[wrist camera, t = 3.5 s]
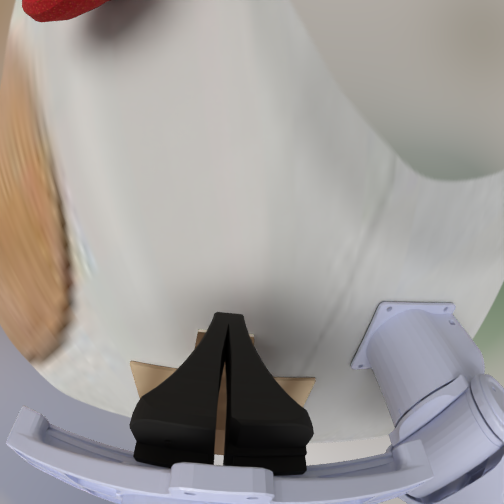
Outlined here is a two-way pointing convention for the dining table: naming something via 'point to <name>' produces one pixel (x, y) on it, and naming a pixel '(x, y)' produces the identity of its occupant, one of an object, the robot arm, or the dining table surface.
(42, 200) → the dining table surface
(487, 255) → the dining table surface
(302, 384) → the light wood flat board
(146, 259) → the dining table surface
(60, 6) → the strawberry
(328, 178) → the dining table surface
